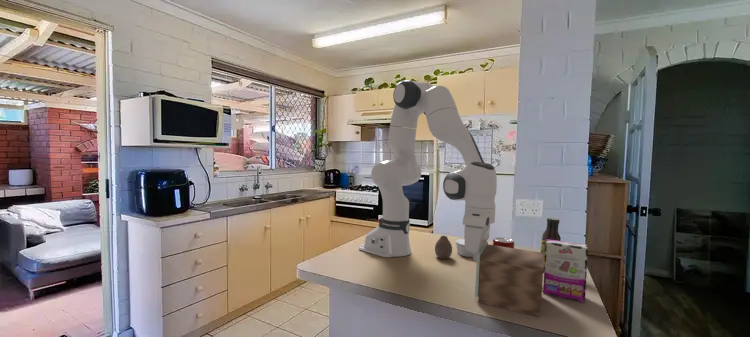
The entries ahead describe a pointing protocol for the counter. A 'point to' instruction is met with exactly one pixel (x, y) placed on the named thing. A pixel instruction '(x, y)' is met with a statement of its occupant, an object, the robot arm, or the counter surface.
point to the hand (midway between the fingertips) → (477, 259)
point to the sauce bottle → (550, 234)
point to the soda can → (503, 242)
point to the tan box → (511, 279)
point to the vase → (443, 248)
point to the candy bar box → (565, 270)
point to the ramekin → (462, 248)
